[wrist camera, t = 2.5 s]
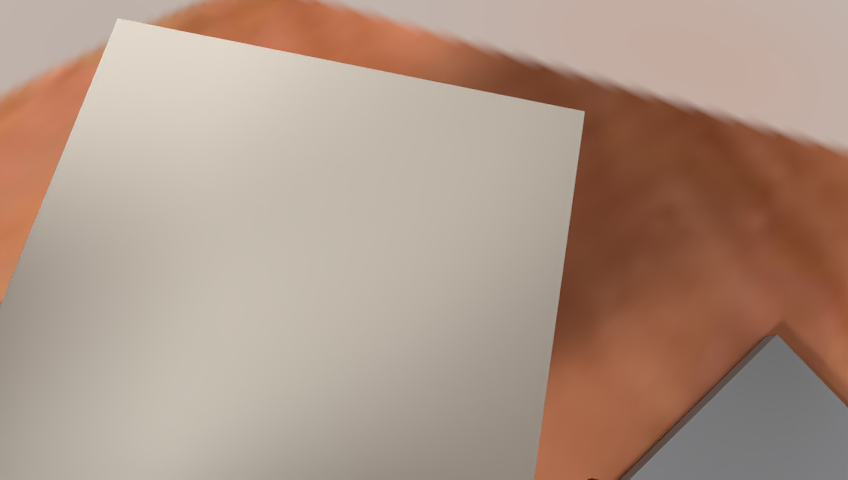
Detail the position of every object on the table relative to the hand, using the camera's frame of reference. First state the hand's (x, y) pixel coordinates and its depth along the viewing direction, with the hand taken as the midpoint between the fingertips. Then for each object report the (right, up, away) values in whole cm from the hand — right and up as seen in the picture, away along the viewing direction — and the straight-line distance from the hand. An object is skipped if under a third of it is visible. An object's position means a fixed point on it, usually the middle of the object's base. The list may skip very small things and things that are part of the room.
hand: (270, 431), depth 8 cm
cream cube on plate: (0, 0, +6) cm, 6 cm away
